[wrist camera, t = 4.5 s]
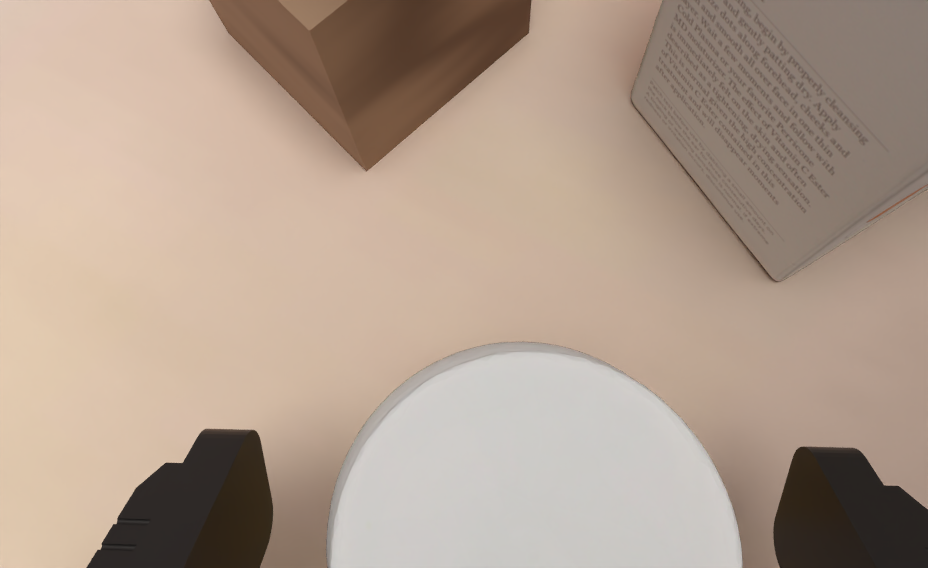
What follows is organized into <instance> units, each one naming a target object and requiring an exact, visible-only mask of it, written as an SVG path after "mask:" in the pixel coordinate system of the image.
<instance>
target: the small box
mask: <svg viewBox="0 0 928 568" xmlns="http://www.w3.org/2000/svg"><path fill="white" fill-rule="evenodd" d="M631 99H632V101H633V105H634V106H635V107H636V109H637V110H638V111H639V112H640V113H641V114H642V116H643V117H644V118H645V119H646V121H647V122H648V123H649V124H650V126H651V127H652V128H653V129H654V131H655V132H656V133H657V134H658V136H659V137H660V138H661V139H662V140H663V142H664V143H665V144H666V146H667V147H668V148H669V150H670V151H671V152H672V153H673V155H674V156H675V157H676V158H677V159H678V161H679V162H680V163H681V164H682V166H683V167H684V168H685V169H686V171H687V172H688V173H689V174H690V176H691V177H692V178H693V179H694V181H695V182H696V183H697V184H698V186H699V187H700V188H701V189H702V191H703V192H704V193H705V195H706V196H707V197H708V198H709V200H710V201H711V202H712V204H713V205H714V206H715V207H716V209H717V210H718V211H719V213H720V214H721V215H722V216H723V218H724V219H725V220H726V221H727V223H728V224H729V225H730V226H731V228H732V229H733V230H734V231H735V233H736V234H737V235H738V236H739V238H740V239H741V240H742V241H743V243H744V244H745V245H746V246H747V247H748V248H749V250H750V251H751V252H752V253H753V255H754V256H755V257H756V258H757V260H758V261H759V262H760V263H761V265H762V266H763V267H764V268H765V270H766V271H767V272H768V273H769V275H770V276H771V277H772V278H773V279H774V280H776V281H783V280H784V279H786V278H788V277H790V276H791V275H793V274H795V273H796V272H798V271H799V270H801V269H803V268H804V267H806V266H807V265H809V264H811V263H812V262H814V261H816V260H817V259H819V258H820V257H822V256H823V255H825V254H827V253H828V252H830V251H831V250H833V249H834V248H836V247H838V246H839V245H841V244H842V243H844V242H845V241H847V240H849V239H850V238H852V237H853V236H855V235H856V234H858V233H859V232H861V231H863V230H864V229H866V228H867V227H869V226H870V225H872V224H874V223H875V222H877V221H878V220H880V219H881V218H883V217H884V216H886V215H888V214H889V213H891V212H892V211H894V210H895V209H897V208H898V207H900V206H901V205H903V204H905V203H906V202H908V201H909V200H911V199H912V198H914V197H915V196H917V195H918V194H920V193H921V192H923V191H925V190H926V189H928V0H662V3H661V6H660V10H659V12H658V15H657V17H656V20H655V24H654V27H653V30H652V34H651V37H650V39H649V42H648V45H647V48H646V51H645V53H644V56H643V59H642V63H641V66H640V69H639V72H638V74H637V77H636V80H635V83H634V86H633V89H632V92H631Z"/></svg>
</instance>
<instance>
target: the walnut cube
mask: <svg viewBox="0 0 928 568" xmlns="http://www.w3.org/2000/svg"><path fill="white" fill-rule="evenodd" d="M209 1H210V2H211V4H212V6H213V7H214V9H215V11H216V12H217V14H218V16H219V18H220V19H221V21H222V23H223V24H224V26H225V28H226V29H227V31H228V33H229V34H230V35H231V36H232V37H233V38H234V39H235V40H236V41H237V42H238V43H239V44H240V45H241V46H242V47H243V48H244V49H245V50H246V51H247V52H248V53H249V54H250V55H251V56H252V57H253V58H254V59H255V60H256V61H257V62H258V63H259V64H260V65H261V66H262V67H263V68H264V69H265V70H266V71H267V72H268V73H269V74H270V75H271V76H272V77H273V78H274V79H275V80H276V81H277V82H278V83H279V84H280V85H281V86H282V87H283V88H284V89H285V90H286V91H287V92H288V93H289V94H290V95H291V96H292V97H293V98H294V99H295V100H296V101H297V102H298V103H299V104H300V105H301V106H302V107H303V108H304V109H305V110H306V111H307V112H308V113H309V114H310V115H311V116H312V117H313V118H314V119H315V120H316V121H317V122H318V123H319V124H320V125H321V126H322V127H323V128H324V129H325V130H326V131H327V132H328V133H329V134H330V135H331V136H332V137H333V138H334V139H335V140H336V141H337V142H338V143H339V144H340V145H341V146H342V147H343V148H344V149H345V150H346V151H347V152H348V153H349V154H350V155H351V156H352V157H353V158H354V159H355V160H356V161H357V162H358V163H359V164H360V165H361V166H362V167H363V168H364V169H365V170H366V171H368V170H369V169H370V168H371V167H372V166H373V165H375V164H376V163H377V162H378V161H379V160H381V159H382V158H383V157H384V156H385V155H386V154H388V153H389V152H390V151H391V150H392V149H393V148H395V147H396V146H397V145H398V144H399V143H400V142H402V141H403V140H404V139H405V138H406V137H407V136H409V135H410V134H411V133H412V132H413V131H414V130H416V129H417V128H418V127H419V126H420V125H421V124H423V123H424V122H425V121H426V120H427V119H428V118H430V117H431V116H432V115H433V114H434V113H436V112H437V111H438V110H439V109H440V108H441V107H443V106H444V105H445V104H446V103H447V102H448V101H450V100H451V99H452V98H453V97H454V96H455V95H457V94H458V93H459V92H460V91H461V90H462V89H464V88H465V87H466V86H467V85H468V84H469V83H471V82H472V81H473V80H474V79H475V78H476V77H478V76H479V75H480V74H481V73H482V72H483V71H485V70H486V69H487V68H488V67H489V66H491V65H492V64H493V63H494V62H495V61H496V60H498V59H499V58H500V57H501V56H502V55H503V54H505V53H506V52H507V51H508V50H509V49H510V48H512V47H513V46H514V45H515V44H516V43H517V42H519V41H520V40H521V39H522V38H523V37H524V36H526V35H527V34H528V33H529V21H530V8H531V0H209Z"/></svg>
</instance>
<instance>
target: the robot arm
mask: <svg viewBox="0 0 928 568" xmlns="http://www.w3.org/2000/svg"><path fill="white" fill-rule="evenodd" d="M117 519H118V521H117V524H113V526H112V528H111V529H110V531H109V532H108V534H107V536H106V537H105V539H104V541H103V542H102V548H101V550H97V552H96V553H95V555H94V557H93V558H92V560H91V561H90V563H89V565H88V566H87V568H260V565H261V562H262V560H263V557H264V554H265V551H266V549H267V546H268V543H269V539H270V534H271V529H272V521H273V504H272V498H271V492H270V487H269V482H268V477H267V472H266V467H265V461H264V456H263V451H262V446H261V441H260V437H259V435H258V433H257V432H256V431H255V430H233V429H205V430H203V431H202V432H201V433H200V434H199V436H198V437H197V439H196V441H195V443H194V444H193V446H192V448H191V450H190V451H189V453H188V455H187V457H186V458H185V460H184V462H183V463H165V464H164V465H163V466H161V467H160V468H159V469H158V470H157V471H156V472H154V473H153V474H152V475H151V476H150V477H149V478H147V479H146V480H145V481H144V482H143V483H142V484H140V485H139V486H138V487H137V488H136V489H135V491H134V492H133V494H132V496H131V497H130V499H129V500H128V502H127V504H126V505H125V507H124V508H123V510H122V512H121V513H120V515H119V516H118V518H117ZM773 533H774V546H775V552H776V556H777V560H778V563H779V566H780V568H928V510H927V509H926V508H925V507H924V506H922V505H921V504H920V503H919V502H917V501H916V500H915V499H914V498H913V497H911V496H910V495H909V494H908V493H907V492H905V491H904V490H903V489H902V488H900V487H899V486H884V485H883V483H882V482H881V480H880V479H879V477H878V476H877V474H876V473H875V471H874V470H873V468H872V467H871V465H870V464H869V462H868V460H867V459H866V457H865V456H864V455H863V454H862V453H861V452H860V451H859V450H857V449H855V448H836V447H800V448H798V449H797V450H796V452H795V454H794V456H793V459H792V462H791V466H790V469H789V472H788V476H787V479H786V483H785V486H784V490H783V493H782V496H781V500H780V503H779V507H778V510H777V513H776V517H775V521H774V532H773Z"/></svg>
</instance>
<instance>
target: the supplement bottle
mask: <svg viewBox="0 0 928 568" xmlns="http://www.w3.org/2000/svg"><path fill="white" fill-rule="evenodd" d="M326 557H327V567H328V568H743V560H742V549H741V541H740V535H739V530H738V526H737V521H736V517H735V513H734V510H733V507H732V504H731V501H730V499H729V496H728V493H727V491H726V488H725V486H724V484H723V481H722V479H721V477H720V475H719V473H718V471H717V469H716V467H715V465H714V463H713V461H712V460H711V458H710V456H709V455H708V453H707V452H706V450H705V449H704V447H703V446H702V444H701V443H700V441H699V440H698V438H697V437H696V436H695V434H694V433H693V432H692V431H691V430H690V428H689V427H688V426H687V425H686V423H685V422H684V421H683V420H682V419H681V418H680V417H679V416H678V415H677V414H676V413H675V412H674V411H673V410H672V409H671V408H670V407H669V406H668V405H667V404H666V403H665V402H664V401H663V400H662V399H661V398H659V397H658V396H657V395H656V394H654V393H653V392H652V391H651V390H649V389H648V388H647V387H646V386H644V385H642V384H640V383H639V382H637V381H635V380H634V379H632V378H631V377H629V376H628V375H626V374H625V373H624V372H622V371H620V370H619V369H617V368H615V367H613V366H611V365H609V364H608V363H606V362H604V361H602V360H600V359H597V358H595V357H592V356H590V355H587V354H585V353H582V352H580V351H576V350H573V349H569V348H566V347H562V346H557V345H551V344H545V343H534V342H504V343H494V344H488V345H483V346H479V347H475V348H471V349H467V350H464V351H460V352H458V353H455V354H453V355H450V356H448V357H446V358H443V359H441V360H439V361H437V362H435V363H433V364H431V365H429V366H427V367H426V368H424V369H423V370H421V371H419V372H418V373H416V374H414V375H413V376H412V377H410V378H409V379H407V380H406V381H405V382H404V383H403V384H401V385H400V386H399V387H398V388H397V389H395V390H394V391H393V392H392V393H391V394H390V395H389V396H388V397H387V398H386V399H385V400H384V401H383V402H382V403H381V404H380V405H379V406H378V408H377V409H376V410H375V411H374V412H373V414H372V415H371V416H370V417H369V418H368V420H367V421H366V423H365V424H364V426H363V427H362V429H361V430H360V432H359V433H358V435H357V437H356V439H355V441H354V442H353V444H352V446H351V448H350V450H349V451H348V454H347V456H346V458H345V460H344V462H343V465H342V468H341V470H340V473H339V476H338V478H337V481H336V485H335V488H334V492H333V496H332V500H331V506H330V512H329V519H328V526H327V539H326Z"/></svg>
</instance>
